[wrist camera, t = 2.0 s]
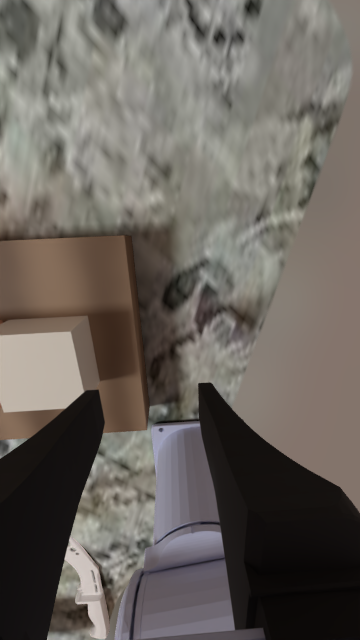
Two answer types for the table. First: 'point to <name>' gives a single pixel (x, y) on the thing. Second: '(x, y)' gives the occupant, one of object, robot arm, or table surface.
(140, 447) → the table surface
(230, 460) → the robot arm
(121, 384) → the brown wooden board
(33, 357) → the cream tile
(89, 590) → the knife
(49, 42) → the table surface
